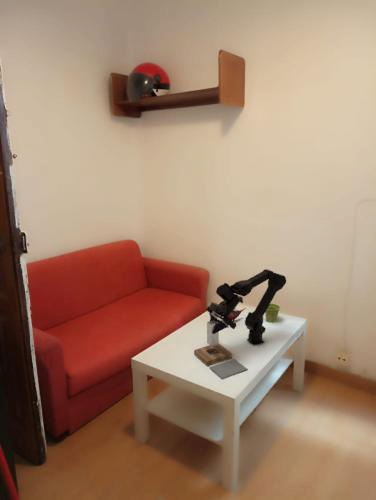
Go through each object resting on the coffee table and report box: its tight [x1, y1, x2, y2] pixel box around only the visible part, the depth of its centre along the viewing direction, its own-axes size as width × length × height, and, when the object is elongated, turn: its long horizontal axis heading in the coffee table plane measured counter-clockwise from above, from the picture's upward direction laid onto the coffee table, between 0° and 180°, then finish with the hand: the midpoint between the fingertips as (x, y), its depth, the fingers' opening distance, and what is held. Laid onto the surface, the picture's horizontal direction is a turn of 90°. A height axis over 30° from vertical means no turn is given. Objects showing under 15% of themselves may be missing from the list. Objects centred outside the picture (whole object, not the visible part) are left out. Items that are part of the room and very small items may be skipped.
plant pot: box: [264, 303, 281, 323], centre depth 214 cm, size 9×9×9 cm
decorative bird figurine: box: [228, 307, 247, 322], centre depth 214 cm, size 3×18×10 cm, turn 126°
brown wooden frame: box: [193, 343, 233, 367], centre depth 178 cm, size 14×12×2 cm
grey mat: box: [208, 358, 248, 380], centre depth 167 cm, size 14×10×1 cm
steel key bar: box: [206, 320, 220, 347], centre depth 175 cm, size 4×4×11 cm
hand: (210, 331), depth 174 cm, fingers closed on steel key bar, 4 cm apart
